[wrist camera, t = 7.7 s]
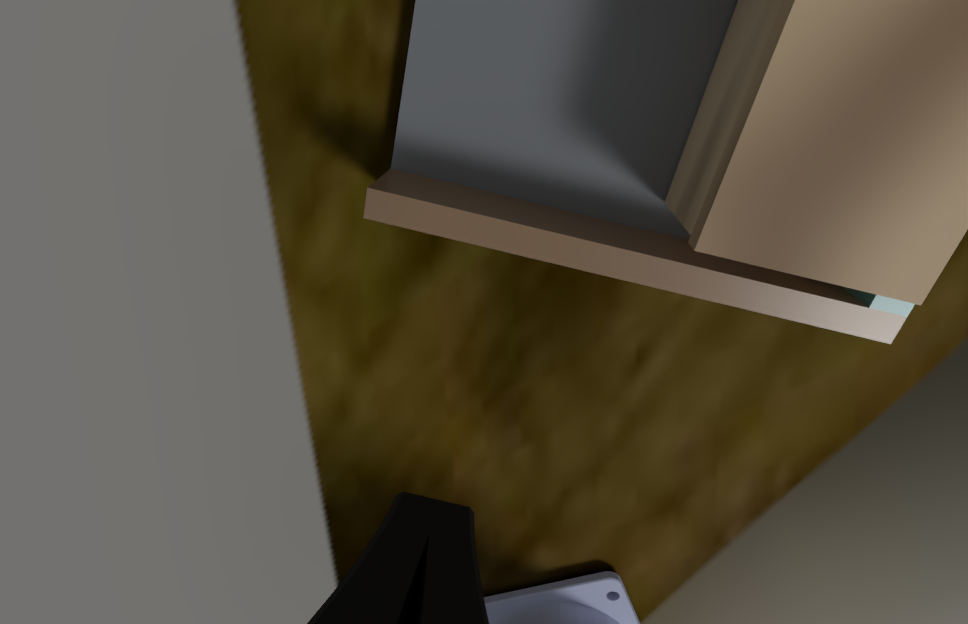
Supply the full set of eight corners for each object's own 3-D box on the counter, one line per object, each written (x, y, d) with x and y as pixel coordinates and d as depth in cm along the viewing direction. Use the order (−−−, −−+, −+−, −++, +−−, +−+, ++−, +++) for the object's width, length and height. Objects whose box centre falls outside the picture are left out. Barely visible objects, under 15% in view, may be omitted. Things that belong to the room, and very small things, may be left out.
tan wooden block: (951, 25, 14) (1096, 18, 10) (837, 247, 16) (920, 305, 13) (743, -27, 14) (815, -52, 10) (659, 205, 16) (694, 250, 13)
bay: (1016, -37, 14) (1133, -56, 11) (836, 297, 18) (890, 344, 15) (446, -179, 14) (423, -235, 11) (390, 190, 17) (363, 218, 15)
